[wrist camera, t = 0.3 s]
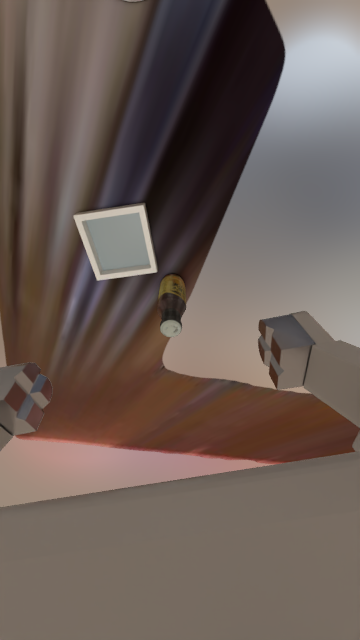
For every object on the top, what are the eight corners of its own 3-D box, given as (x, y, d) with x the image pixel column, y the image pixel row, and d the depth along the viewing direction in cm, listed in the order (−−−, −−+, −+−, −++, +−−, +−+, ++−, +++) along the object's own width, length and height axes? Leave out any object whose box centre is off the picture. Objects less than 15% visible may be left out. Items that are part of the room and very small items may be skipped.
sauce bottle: (188, 287, 60) (195, 335, 44) (168, 298, 62) (167, 348, 46) (175, 266, 57) (178, 310, 41) (154, 279, 59) (148, 326, 42)
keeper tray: (78, 212, 49) (73, 215, 47) (144, 202, 48) (143, 204, 46) (100, 275, 57) (97, 280, 55) (157, 267, 57) (157, 272, 54)
